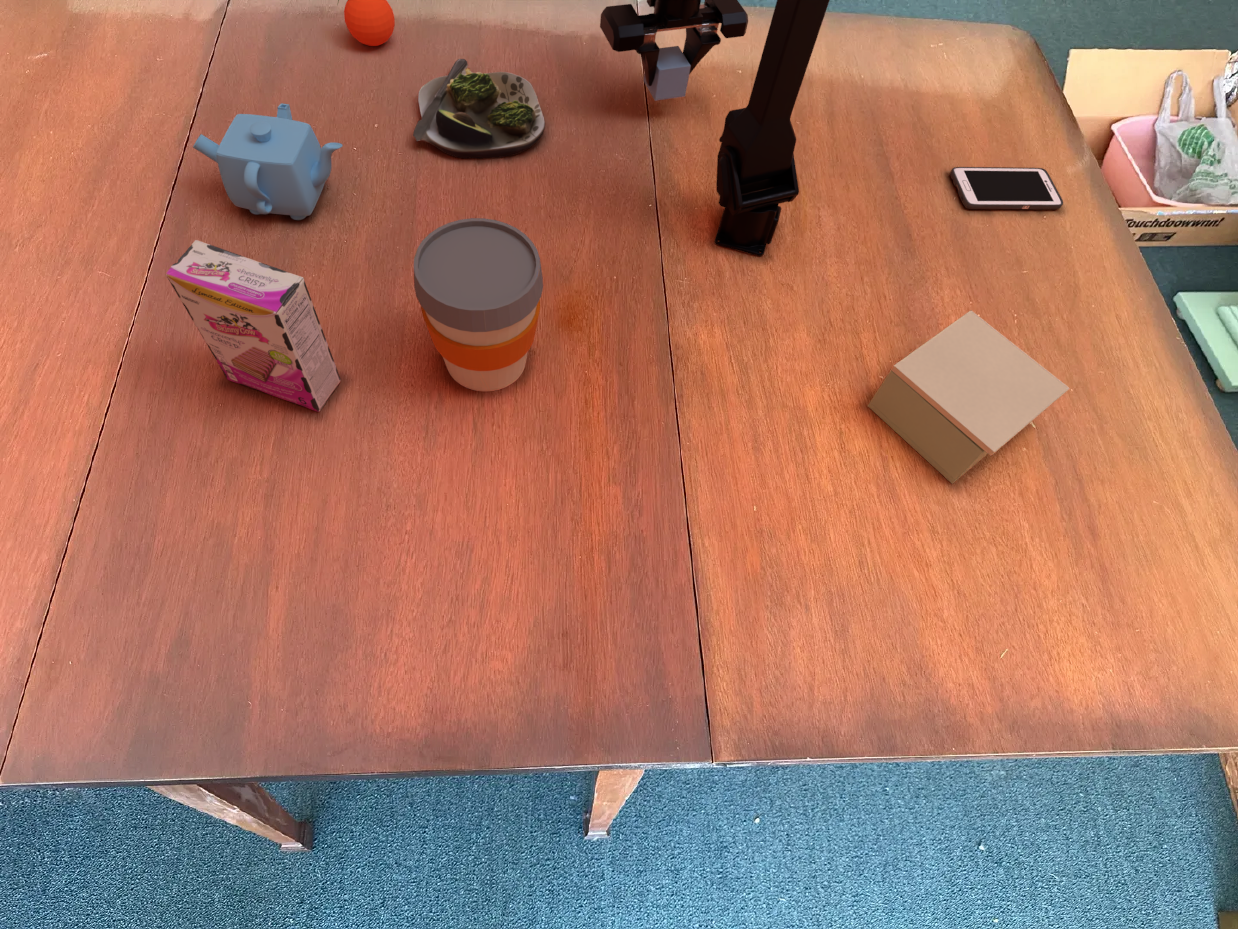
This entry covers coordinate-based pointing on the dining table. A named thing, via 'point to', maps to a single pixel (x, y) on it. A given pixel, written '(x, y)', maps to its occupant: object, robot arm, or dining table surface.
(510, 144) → the avocado toast plate
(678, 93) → the block
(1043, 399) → the lid
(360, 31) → the clementine
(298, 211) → the teapot
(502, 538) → the dining table surface
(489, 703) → the dining table surface
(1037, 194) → the cell phone
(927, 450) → the chest
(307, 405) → the candy bar box
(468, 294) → the reusable coffee cup
